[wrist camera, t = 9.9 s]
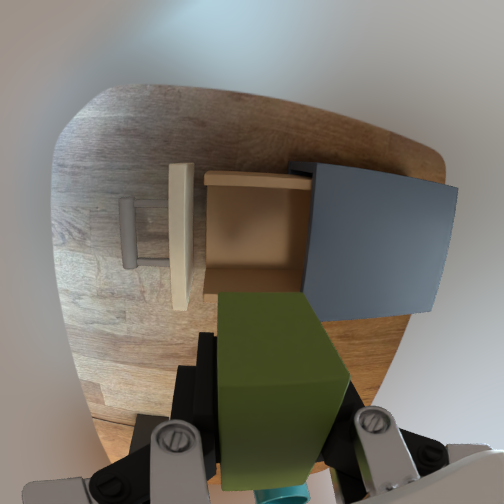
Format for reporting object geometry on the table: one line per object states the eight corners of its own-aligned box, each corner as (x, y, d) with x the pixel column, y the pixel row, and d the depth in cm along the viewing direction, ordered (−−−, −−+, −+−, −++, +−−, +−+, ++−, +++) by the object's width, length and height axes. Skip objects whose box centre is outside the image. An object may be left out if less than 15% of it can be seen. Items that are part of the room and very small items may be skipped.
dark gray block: (137, 413, 36) (127, 459, 27) (168, 417, 36) (162, 464, 28) (145, 437, 38) (139, 479, 29) (174, 440, 39) (171, 483, 30)
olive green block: (217, 290, 10) (217, 385, 5) (303, 291, 10) (353, 376, 6) (218, 407, 11) (221, 491, 7) (283, 405, 12) (304, 485, 8)
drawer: (138, 275, 28) (118, 307, 22) (133, 163, 25) (107, 166, 18) (310, 278, 30) (333, 309, 24) (322, 170, 27) (352, 175, 20)
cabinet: (278, 280, 31) (298, 322, 23) (288, 160, 27) (316, 162, 19) (391, 278, 33) (431, 311, 24) (408, 177, 29) (458, 187, 21)
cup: (251, 474, 45) (257, 518, 34) (247, 447, 41) (254, 500, 30) (295, 467, 45) (306, 510, 35) (298, 440, 41) (313, 491, 31)
